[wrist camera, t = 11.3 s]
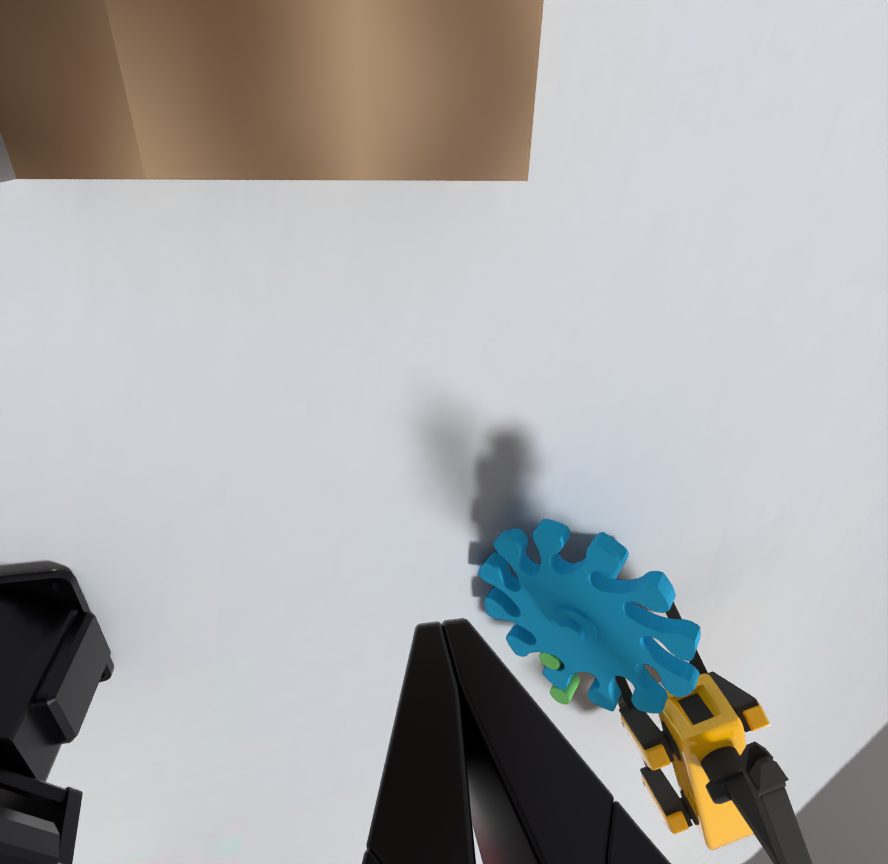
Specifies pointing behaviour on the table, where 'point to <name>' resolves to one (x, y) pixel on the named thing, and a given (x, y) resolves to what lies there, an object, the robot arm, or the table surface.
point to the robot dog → (715, 766)
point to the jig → (268, 89)
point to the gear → (590, 618)
